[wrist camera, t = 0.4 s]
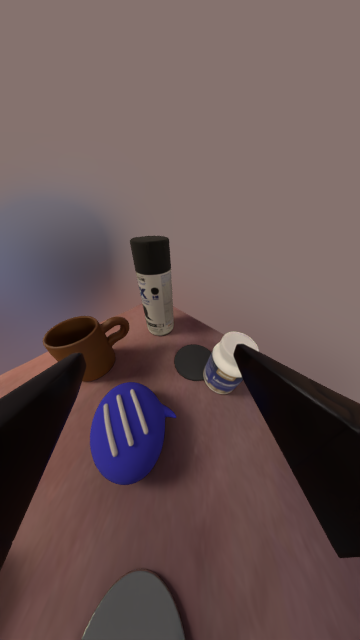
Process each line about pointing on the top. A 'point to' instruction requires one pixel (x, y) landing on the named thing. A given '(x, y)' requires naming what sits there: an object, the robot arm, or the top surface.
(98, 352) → the mug
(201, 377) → the coaster
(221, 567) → the top surface
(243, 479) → the top surface
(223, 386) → the pill bottle
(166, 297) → the spray can
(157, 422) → the decorative object
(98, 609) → the coaster
